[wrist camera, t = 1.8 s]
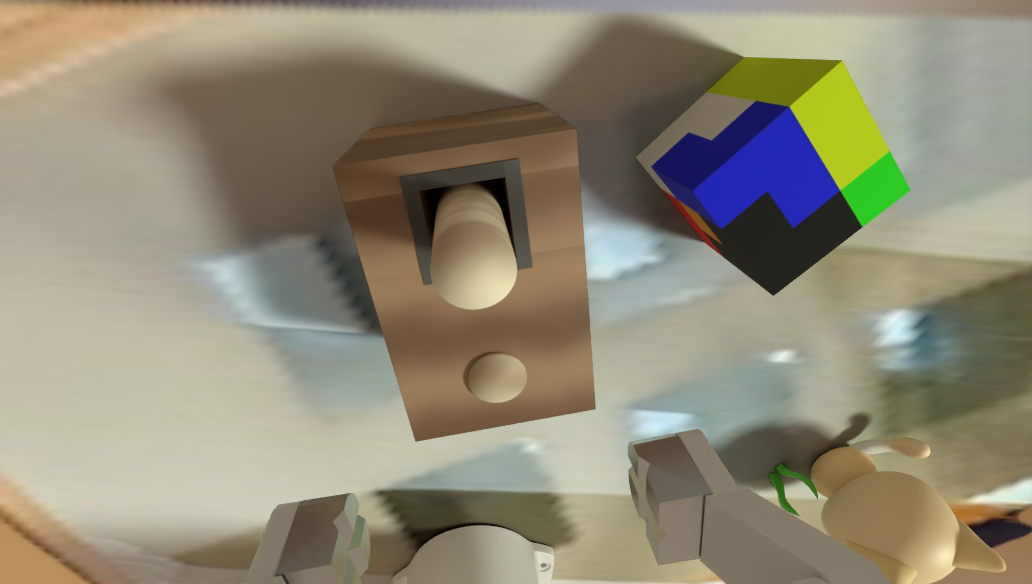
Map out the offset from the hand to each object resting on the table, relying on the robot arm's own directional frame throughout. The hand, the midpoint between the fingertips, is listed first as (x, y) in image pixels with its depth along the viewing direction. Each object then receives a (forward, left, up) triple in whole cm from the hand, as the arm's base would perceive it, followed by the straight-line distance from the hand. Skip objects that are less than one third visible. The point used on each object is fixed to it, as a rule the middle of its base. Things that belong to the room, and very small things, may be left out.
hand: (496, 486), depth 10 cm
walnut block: (-5, 0, -29) cm, 30 cm away
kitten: (-39, -35, -29) cm, 60 cm away
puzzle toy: (-2, -20, -29) cm, 36 cm away
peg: (0, 0, -23) cm, 23 cm away
